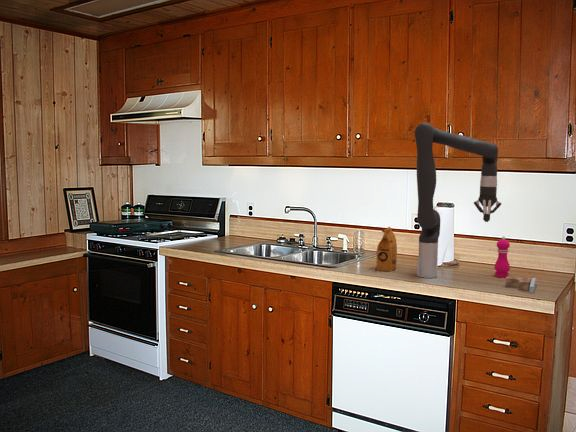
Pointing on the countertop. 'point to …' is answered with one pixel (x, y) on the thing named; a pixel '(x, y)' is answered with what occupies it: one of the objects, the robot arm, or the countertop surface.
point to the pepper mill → (502, 259)
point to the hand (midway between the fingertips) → (486, 221)
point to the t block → (518, 283)
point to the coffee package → (387, 252)
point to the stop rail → (532, 285)
